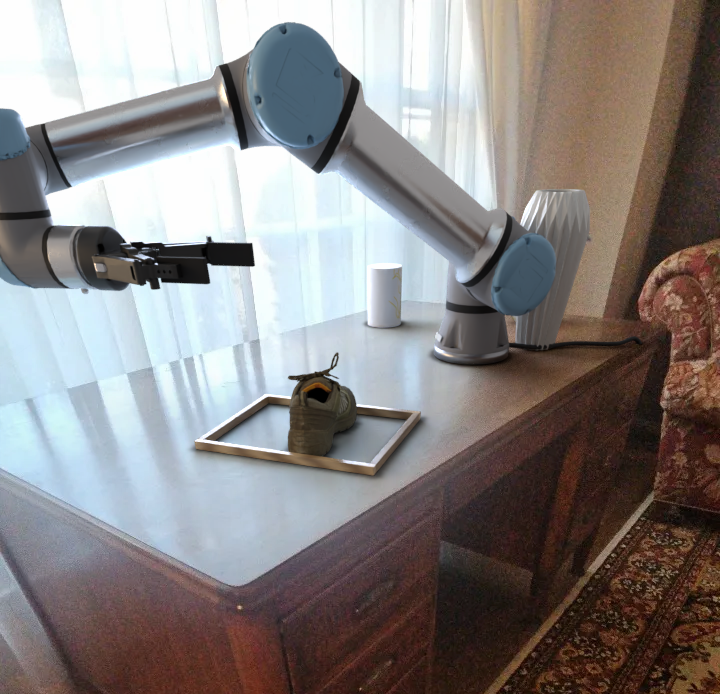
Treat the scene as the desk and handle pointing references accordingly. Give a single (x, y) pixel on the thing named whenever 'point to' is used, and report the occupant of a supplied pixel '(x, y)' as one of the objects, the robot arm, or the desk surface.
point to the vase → (568, 238)
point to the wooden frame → (371, 468)
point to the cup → (384, 294)
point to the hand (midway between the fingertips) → (231, 262)
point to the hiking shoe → (319, 412)
